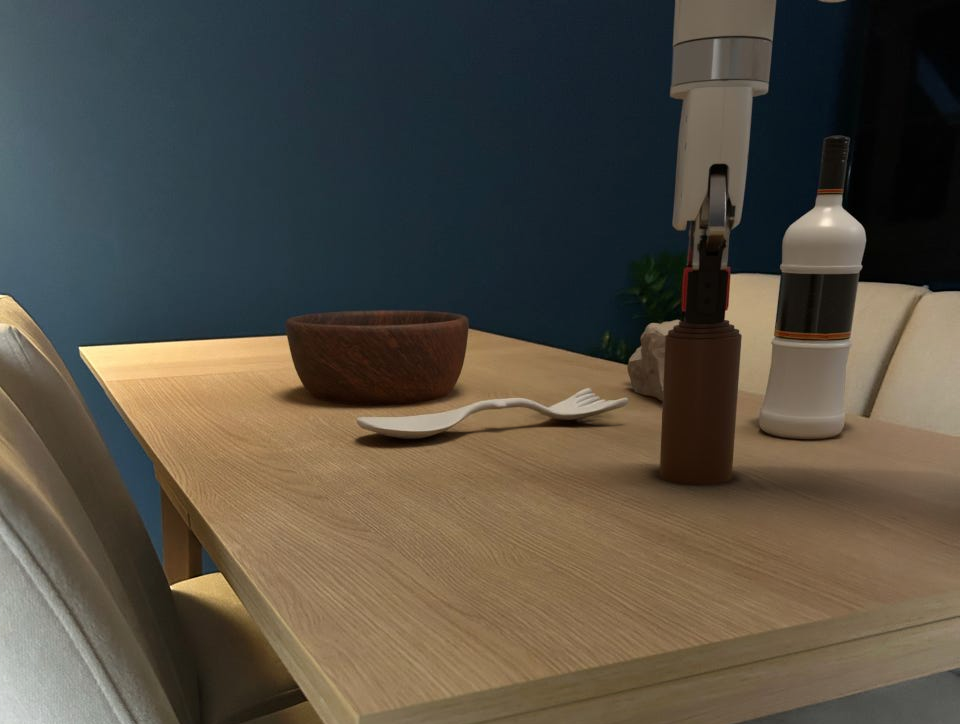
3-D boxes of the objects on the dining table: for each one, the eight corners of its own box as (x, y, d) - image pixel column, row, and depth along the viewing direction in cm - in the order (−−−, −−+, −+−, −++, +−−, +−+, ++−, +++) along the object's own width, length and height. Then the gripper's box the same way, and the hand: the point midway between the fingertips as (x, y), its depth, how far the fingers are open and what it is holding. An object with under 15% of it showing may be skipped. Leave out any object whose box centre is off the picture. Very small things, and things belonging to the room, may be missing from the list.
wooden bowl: (322, 379, 150) (317, 309, 146) (482, 382, 146) (481, 310, 142) (264, 407, 127) (257, 325, 123) (451, 411, 123) (450, 327, 119)
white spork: (629, 424, 115) (630, 395, 113) (374, 450, 102) (373, 417, 101) (588, 412, 122) (589, 384, 121) (347, 435, 109) (345, 404, 108)
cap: (679, 309, 84) (681, 267, 83) (725, 308, 84) (728, 266, 83) (682, 312, 81) (685, 269, 79) (730, 311, 80) (733, 267, 79)
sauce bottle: (727, 475, 91) (742, 271, 84) (734, 492, 85) (750, 274, 78) (658, 475, 92) (666, 273, 85) (660, 492, 86) (669, 276, 79)
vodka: (760, 439, 107) (793, 133, 95) (755, 423, 115) (786, 140, 103) (848, 442, 105) (893, 131, 93) (837, 426, 113) (877, 138, 102)
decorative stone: (727, 409, 124) (735, 328, 120) (672, 412, 122) (678, 329, 118) (666, 386, 142) (671, 314, 138) (617, 388, 140) (621, 315, 136)
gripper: (665, 89, 83) (653, 312, 91) (677, 58, 68) (662, 330, 76) (754, 86, 83) (735, 312, 90) (787, 54, 67) (761, 329, 75)
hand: (702, 318), depth 83 cm, fingers closed on cap, 3 cm apart
